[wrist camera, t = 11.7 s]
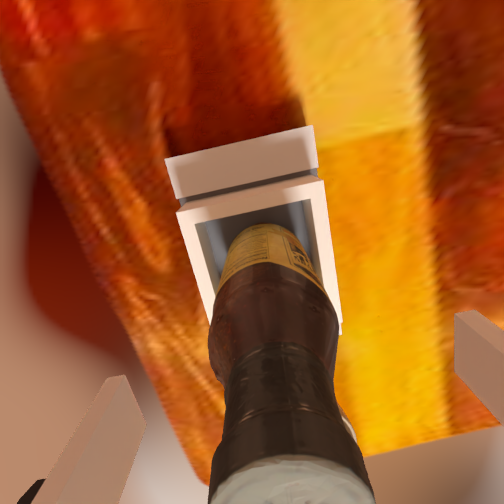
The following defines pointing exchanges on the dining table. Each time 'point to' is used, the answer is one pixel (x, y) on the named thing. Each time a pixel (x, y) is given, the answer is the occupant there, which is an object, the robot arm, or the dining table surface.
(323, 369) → the sauce bottle
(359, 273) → the dining table surface
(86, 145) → the dining table surface
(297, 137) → the caddy
